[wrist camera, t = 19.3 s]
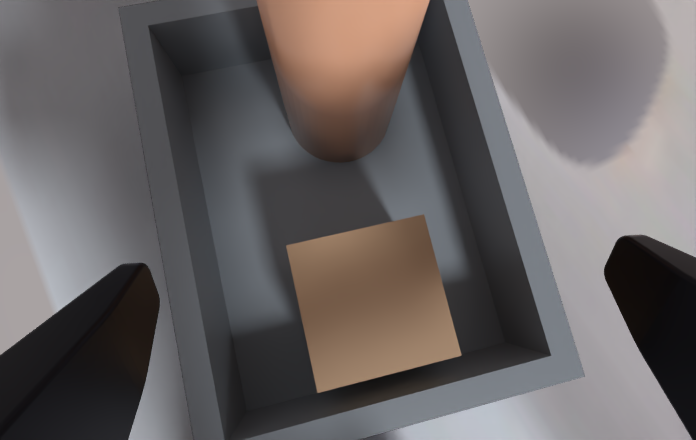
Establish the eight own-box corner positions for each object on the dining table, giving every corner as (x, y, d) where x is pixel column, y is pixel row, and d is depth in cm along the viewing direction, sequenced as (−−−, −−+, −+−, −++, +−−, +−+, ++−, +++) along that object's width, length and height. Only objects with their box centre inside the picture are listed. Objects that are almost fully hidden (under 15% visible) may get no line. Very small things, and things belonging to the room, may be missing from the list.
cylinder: (410, 111, 21) (544, -206, 8) (341, 183, 20) (357, -29, 7) (336, 47, 21) (341, -357, 8) (266, 115, 21) (144, -209, 7)
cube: (426, 338, 19) (461, 355, 14) (319, 366, 19) (317, 393, 14) (399, 233, 20) (424, 214, 15) (295, 256, 20) (286, 245, 15)
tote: (521, 355, 20) (585, 376, 15) (233, 433, 19) (201, 483, 14) (424, 22, 23) (451, -51, 18) (165, 71, 22) (118, 7, 17)
